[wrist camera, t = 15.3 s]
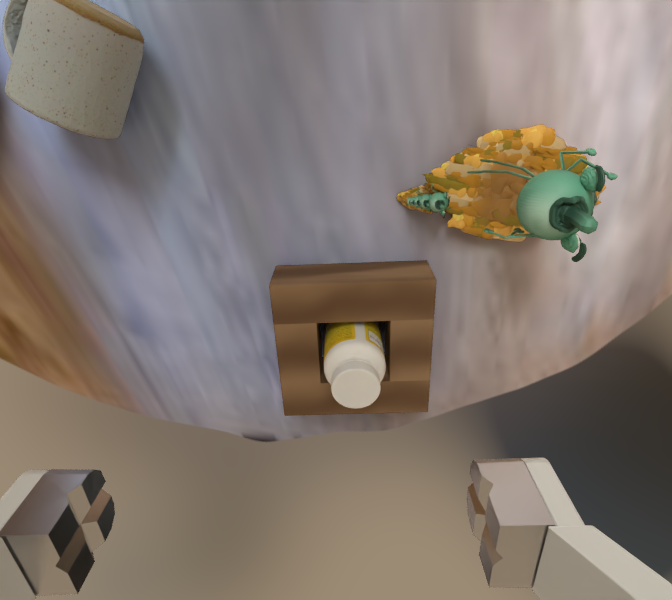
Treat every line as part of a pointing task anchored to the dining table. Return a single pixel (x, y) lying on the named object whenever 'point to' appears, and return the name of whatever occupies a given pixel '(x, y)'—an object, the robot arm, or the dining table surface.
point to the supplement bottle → (354, 362)
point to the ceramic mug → (72, 64)
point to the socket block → (354, 306)
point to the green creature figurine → (516, 188)
